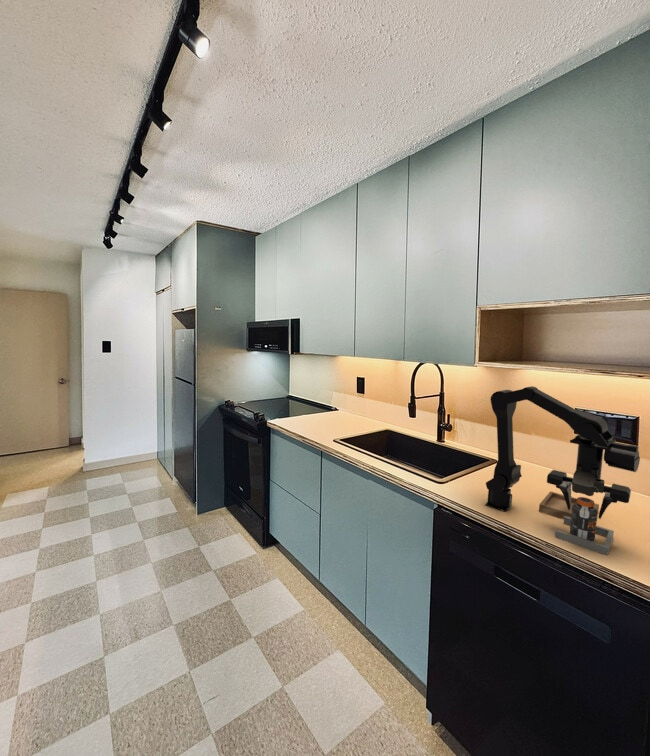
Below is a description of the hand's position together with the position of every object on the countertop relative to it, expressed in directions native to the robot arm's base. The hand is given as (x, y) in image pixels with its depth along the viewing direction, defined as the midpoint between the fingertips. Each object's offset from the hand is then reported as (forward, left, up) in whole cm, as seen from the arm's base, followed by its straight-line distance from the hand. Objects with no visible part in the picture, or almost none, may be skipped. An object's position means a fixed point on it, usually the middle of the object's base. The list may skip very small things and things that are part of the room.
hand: (584, 513), depth 103 cm
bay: (0, 0, -7) cm, 7 cm away
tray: (-6, +15, -7) cm, 18 cm away
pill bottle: (0, 0, -7) cm, 7 cm away
